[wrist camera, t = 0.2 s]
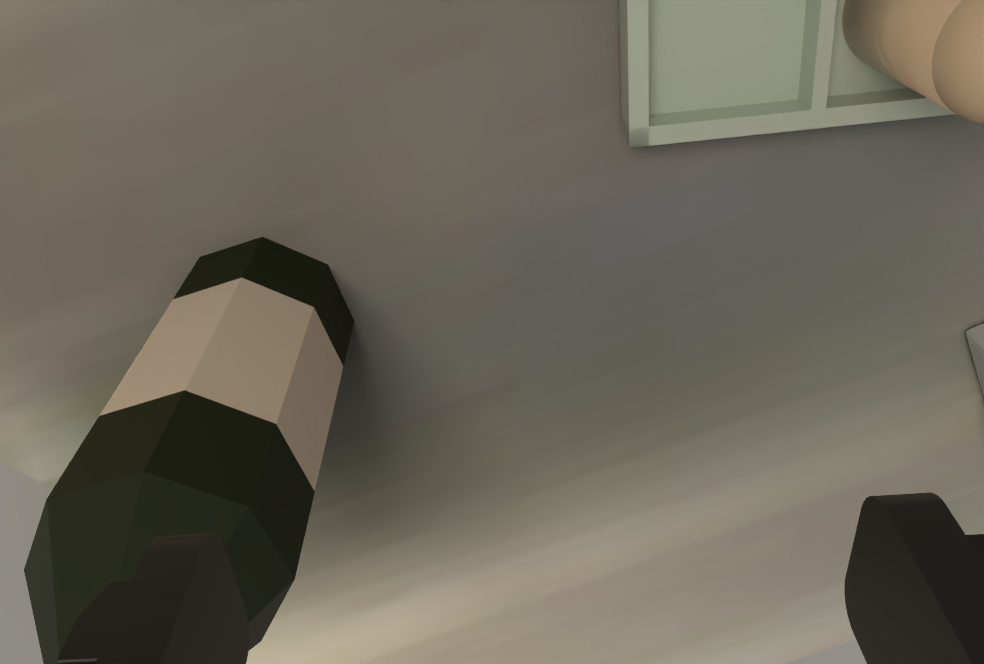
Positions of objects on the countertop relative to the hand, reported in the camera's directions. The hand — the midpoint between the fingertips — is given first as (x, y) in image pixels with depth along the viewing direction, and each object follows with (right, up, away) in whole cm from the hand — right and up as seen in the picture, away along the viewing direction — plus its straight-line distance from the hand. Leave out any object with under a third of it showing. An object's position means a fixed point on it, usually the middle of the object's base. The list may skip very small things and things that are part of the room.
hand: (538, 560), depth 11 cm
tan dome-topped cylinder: (+16, +16, +23) cm, 32 cm away
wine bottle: (-11, +4, +30) cm, 33 cm away
